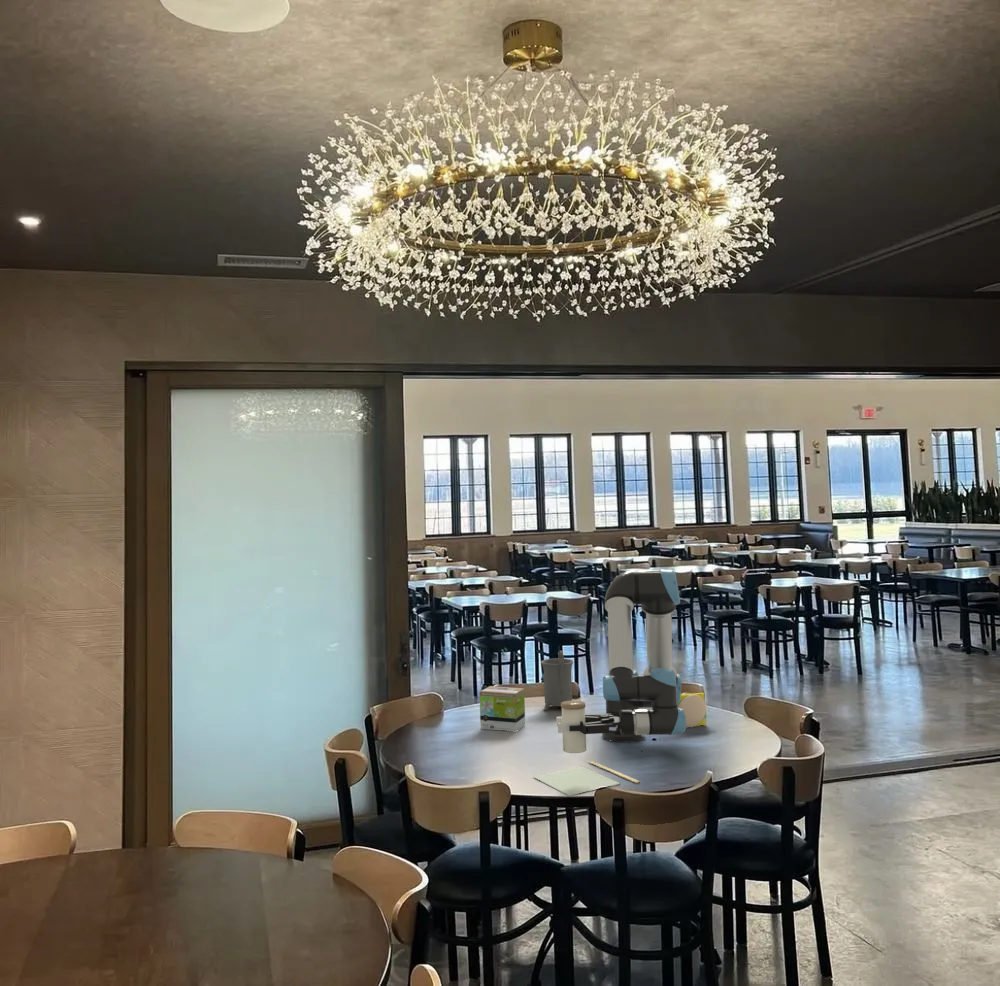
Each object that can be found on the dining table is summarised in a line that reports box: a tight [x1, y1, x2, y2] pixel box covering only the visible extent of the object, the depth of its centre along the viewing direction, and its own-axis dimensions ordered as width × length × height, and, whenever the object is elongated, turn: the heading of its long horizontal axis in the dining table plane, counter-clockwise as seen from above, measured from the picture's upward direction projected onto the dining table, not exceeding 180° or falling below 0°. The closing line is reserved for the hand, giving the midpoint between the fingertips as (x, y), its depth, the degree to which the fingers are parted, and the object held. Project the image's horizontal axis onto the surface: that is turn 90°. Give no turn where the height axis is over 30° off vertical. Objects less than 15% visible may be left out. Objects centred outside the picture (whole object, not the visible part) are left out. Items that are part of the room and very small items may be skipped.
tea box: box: [479, 685, 526, 732], centre depth 306 cm, size 15×10×15 cm, turn 68°
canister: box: [560, 700, 587, 754], centre depth 241 cm, size 7×7×14 cm
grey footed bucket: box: [540, 650, 574, 712], centre depth 334 cm, size 19×15×25 cm
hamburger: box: [678, 692, 707, 729], centre depth 299 cm, size 12×8×12 cm
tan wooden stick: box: [588, 760, 641, 784], centre depth 248 cm, size 24×2×1 cm, turn 29°
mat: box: [533, 765, 621, 797], centre depth 241 cm, size 20×18×1 cm
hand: (557, 724), depth 241 cm, fingers closed on canister, 7 cm apart
